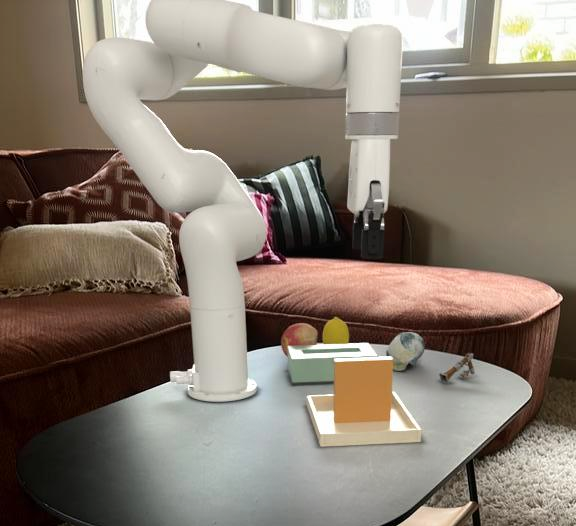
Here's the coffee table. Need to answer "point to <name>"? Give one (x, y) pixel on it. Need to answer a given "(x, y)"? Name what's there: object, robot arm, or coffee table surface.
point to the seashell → (405, 350)
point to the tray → (361, 425)
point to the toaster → (321, 361)
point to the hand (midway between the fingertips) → (367, 253)
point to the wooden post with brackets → (457, 367)
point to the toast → (362, 389)
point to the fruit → (298, 336)
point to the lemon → (335, 332)
